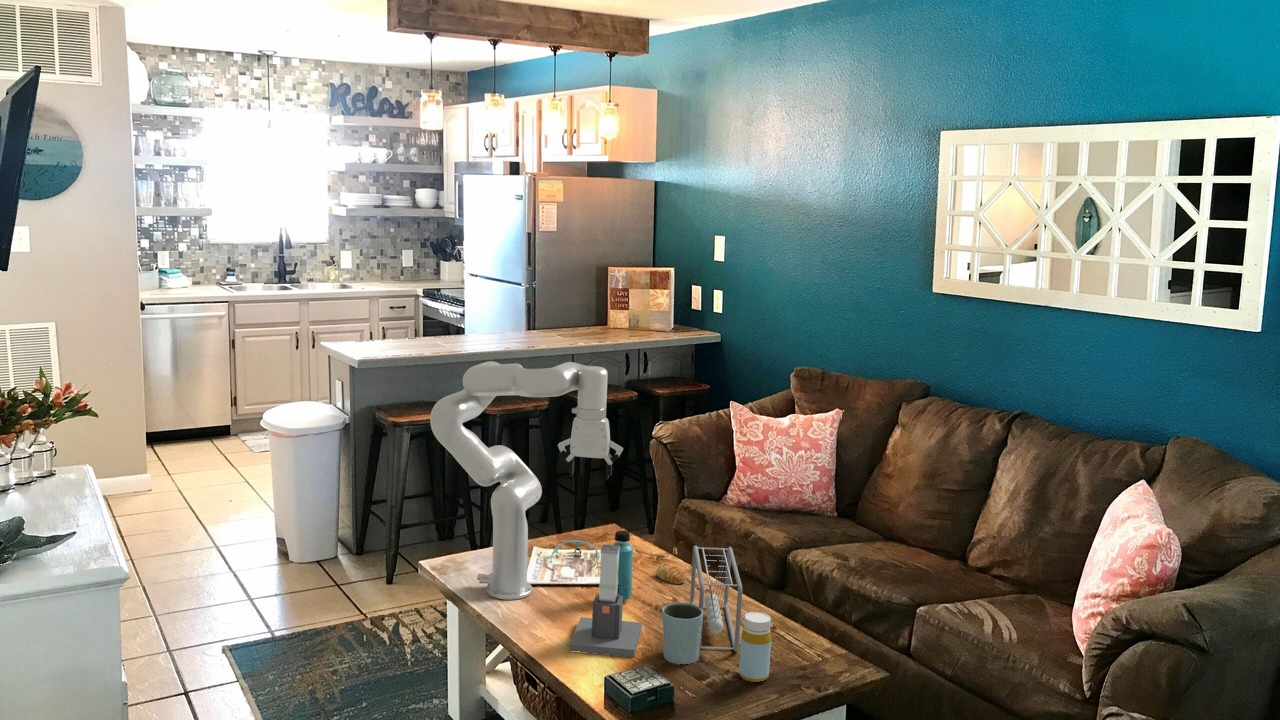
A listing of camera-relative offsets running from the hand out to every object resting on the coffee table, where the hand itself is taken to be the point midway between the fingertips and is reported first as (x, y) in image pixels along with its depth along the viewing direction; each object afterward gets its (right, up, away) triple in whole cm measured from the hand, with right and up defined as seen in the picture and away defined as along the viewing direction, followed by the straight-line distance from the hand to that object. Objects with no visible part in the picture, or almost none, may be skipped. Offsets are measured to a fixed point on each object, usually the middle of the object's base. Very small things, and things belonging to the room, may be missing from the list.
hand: (589, 476), depth 278 cm
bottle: (+40, -44, -30) cm, 67 cm away
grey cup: (+23, -42, -21) cm, 52 cm away
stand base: (+5, -40, -14) cm, 42 cm away
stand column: (+5, -30, -16) cm, 35 cm away
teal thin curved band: (-6, -31, +37) cm, 48 cm away
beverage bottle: (+8, -36, +10) cm, 38 cm away
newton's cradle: (+32, -39, -4) cm, 51 cm away
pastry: (+23, -33, +29) cm, 49 cm away
